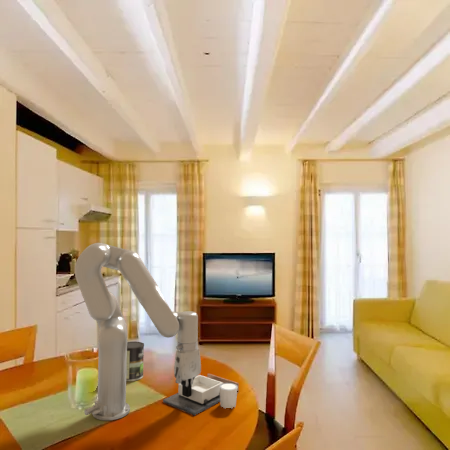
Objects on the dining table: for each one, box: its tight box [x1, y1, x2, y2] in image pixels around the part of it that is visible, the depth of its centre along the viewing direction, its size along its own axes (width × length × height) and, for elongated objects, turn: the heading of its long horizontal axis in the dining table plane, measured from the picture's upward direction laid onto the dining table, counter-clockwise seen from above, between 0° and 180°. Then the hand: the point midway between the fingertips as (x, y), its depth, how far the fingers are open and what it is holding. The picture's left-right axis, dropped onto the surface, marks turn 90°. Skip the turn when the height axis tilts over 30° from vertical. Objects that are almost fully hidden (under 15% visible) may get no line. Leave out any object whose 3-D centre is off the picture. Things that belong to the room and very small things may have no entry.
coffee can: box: [126, 341, 145, 382], centre depth 165 cm, size 10×10×14 cm
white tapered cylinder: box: [219, 383, 239, 409], centre depth 140 cm, size 7×7×7 cm
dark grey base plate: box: [162, 373, 240, 416], centre depth 146 cm, size 26×16×4 cm, turn 142°
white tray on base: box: [177, 374, 223, 404], centre depth 146 cm, size 12×14×4 cm
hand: (186, 395), depth 139 cm, fingers closed
